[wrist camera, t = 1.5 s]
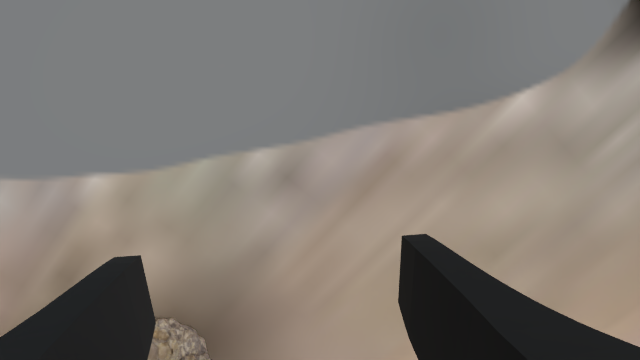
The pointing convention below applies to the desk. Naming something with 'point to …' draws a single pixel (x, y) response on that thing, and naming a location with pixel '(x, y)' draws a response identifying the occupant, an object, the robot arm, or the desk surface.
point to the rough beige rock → (176, 342)
